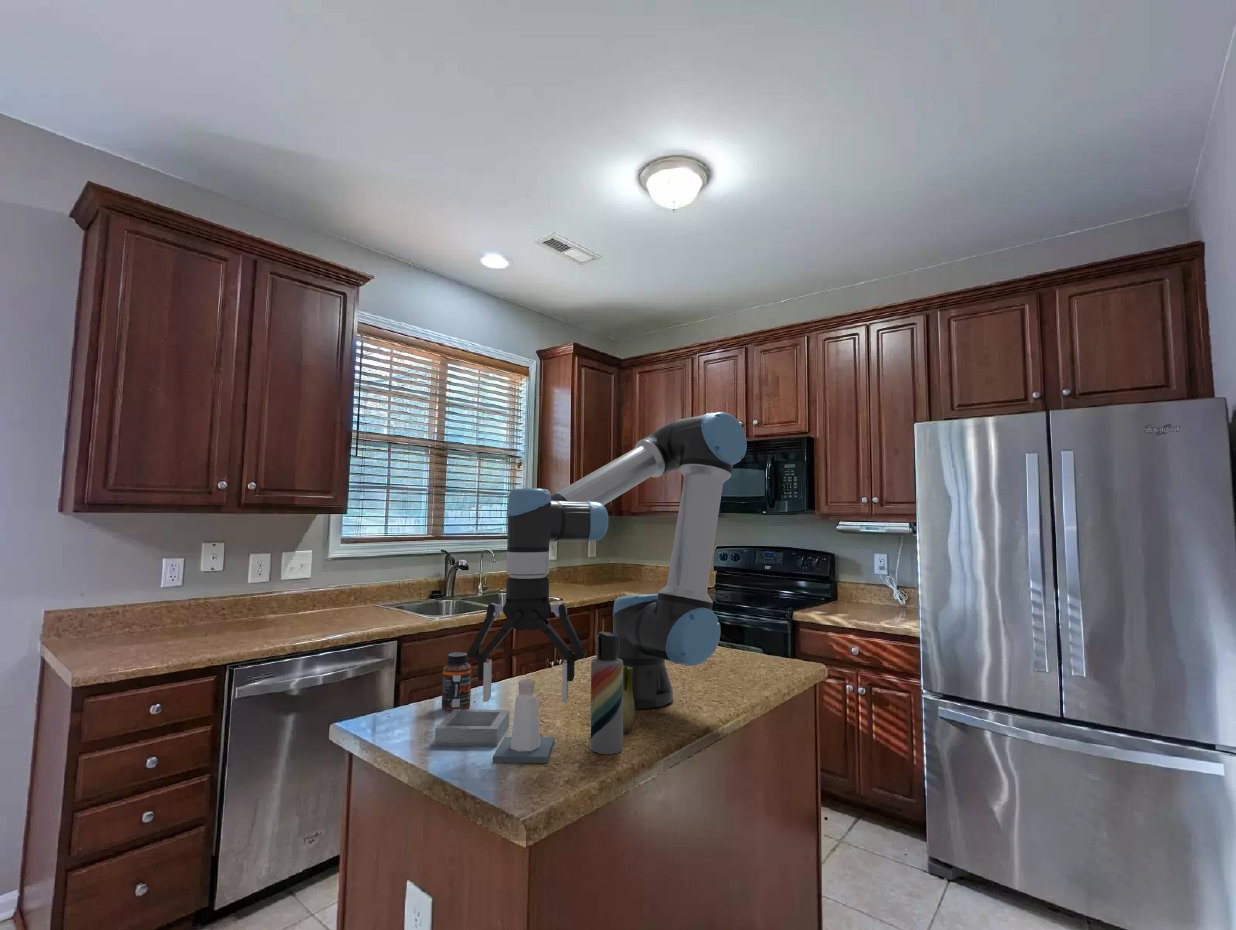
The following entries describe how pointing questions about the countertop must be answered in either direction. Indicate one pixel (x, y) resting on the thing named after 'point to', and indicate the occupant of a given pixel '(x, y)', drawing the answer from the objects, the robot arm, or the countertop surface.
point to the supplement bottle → (456, 682)
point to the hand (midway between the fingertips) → (525, 700)
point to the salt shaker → (525, 719)
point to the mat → (535, 756)
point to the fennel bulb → (628, 700)
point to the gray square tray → (472, 728)
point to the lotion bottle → (607, 696)
